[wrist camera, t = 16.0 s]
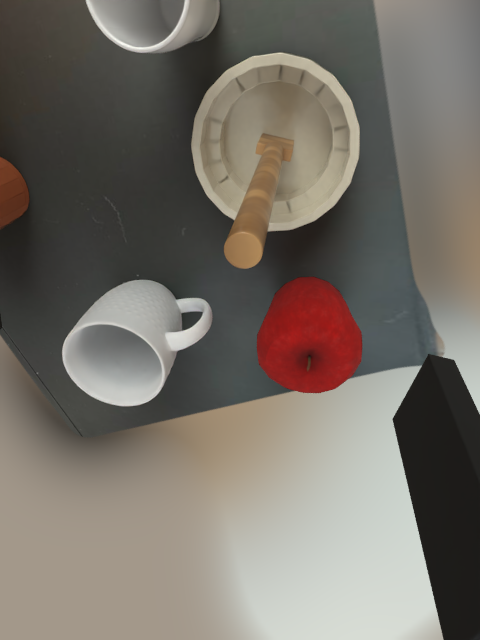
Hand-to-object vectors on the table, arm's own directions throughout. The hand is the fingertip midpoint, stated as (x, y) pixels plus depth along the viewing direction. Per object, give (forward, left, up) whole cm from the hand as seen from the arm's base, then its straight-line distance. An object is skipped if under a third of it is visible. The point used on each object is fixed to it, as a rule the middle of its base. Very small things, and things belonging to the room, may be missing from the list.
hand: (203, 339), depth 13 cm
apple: (+17, +8, -36) cm, 41 cm away
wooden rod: (0, 0, -35) cm, 35 cm away
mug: (+22, -10, -36) cm, 43 cm away
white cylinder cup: (-9, -10, -36) cm, 38 cm away
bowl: (0, 0, -36) cm, 36 cm away
